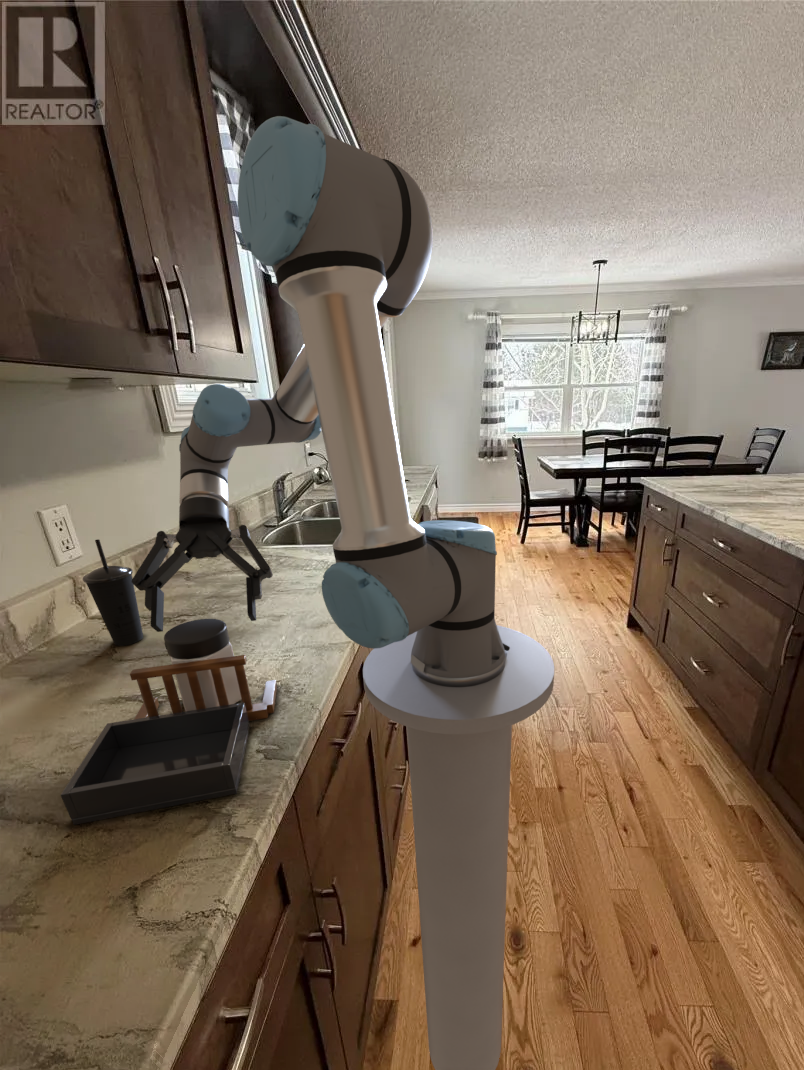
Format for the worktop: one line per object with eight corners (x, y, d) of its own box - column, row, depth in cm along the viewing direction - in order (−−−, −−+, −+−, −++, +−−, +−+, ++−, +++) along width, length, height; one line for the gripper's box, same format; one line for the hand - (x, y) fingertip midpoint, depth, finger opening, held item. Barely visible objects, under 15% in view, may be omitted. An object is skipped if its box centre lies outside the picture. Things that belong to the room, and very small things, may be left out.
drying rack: (277, 687, 76) (266, 632, 72) (273, 717, 69) (261, 657, 65) (148, 707, 72) (130, 649, 68) (129, 740, 65) (108, 678, 61)
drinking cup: (95, 645, 91) (60, 543, 83) (133, 628, 98) (104, 532, 90) (123, 652, 88) (89, 547, 81) (160, 634, 95) (132, 536, 87)
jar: (218, 680, 79) (202, 613, 74) (255, 691, 75) (240, 622, 71) (168, 710, 71) (147, 638, 67) (206, 724, 68) (186, 649, 63)
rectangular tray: (250, 727, 67) (244, 702, 65) (237, 793, 56) (229, 764, 54) (116, 750, 63) (106, 723, 62) (73, 825, 52) (60, 795, 50)
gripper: (284, 514, 88) (292, 621, 80) (132, 524, 82) (126, 641, 75) (277, 489, 81) (286, 604, 74) (111, 499, 76) (102, 624, 68)
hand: (205, 623), depth 74 cm, fingers open, 13 cm apart
